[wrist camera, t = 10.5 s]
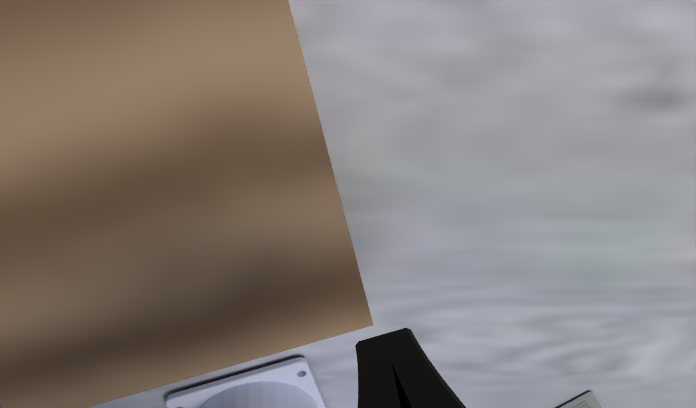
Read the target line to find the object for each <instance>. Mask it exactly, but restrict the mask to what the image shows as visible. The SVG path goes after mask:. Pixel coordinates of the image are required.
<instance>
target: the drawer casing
mask: <svg viewBox="0 0 696 408" xmlns="http://www.w3.org/2000/svg"><path fill="white" fill-rule="evenodd" d="M372 325H373V322H372V318H371V315H370V311H369V307H368V303H367V299H366V296H365V292H364V288H363V284H362V280H361V277H360V273H359V269H358V265H357V261H356V257H355V254H354V250H353V246H352V242H351V238H350V235H349V231H348V227H347V223H346V219H345V216H344V212H343V208H342V204H341V200H340V196H339V193H338V189H337V185H336V181H335V177H334V174H333V170H332V166H331V162H330V158H329V155H328V151H327V147H326V143H325V139H324V135H323V132H322V128H321V124H320V120H319V116H318V113H317V109H316V105H315V101H314V97H313V94H312V90H311V86H310V82H309V78H308V74H307V71H306V67H305V63H304V59H303V55H302V52H301V48H300V44H299V40H298V36H297V33H296V29H295V25H294V21H293V17H292V13H291V10H290V6H289V2H288V0H0V406H1V407H2V408H87V407H90V406H94V405H97V404H101V403H104V402H108V401H111V400H115V399H118V398H122V397H125V396H129V395H132V394H136V393H139V392H143V391H146V390H150V389H153V388H157V387H160V386H163V385H167V384H170V383H174V382H177V381H181V380H184V379H188V378H191V377H195V376H198V375H202V374H205V373H209V372H212V371H216V370H219V369H223V368H226V367H229V366H233V365H236V364H240V363H243V362H247V361H250V360H254V359H257V358H261V357H264V356H268V355H271V354H275V353H278V352H282V351H285V350H289V349H292V348H295V347H299V346H302V345H306V344H309V343H313V342H316V341H320V340H323V339H327V338H330V337H334V336H337V335H341V334H344V333H348V332H351V331H355V330H358V329H361V328H365V327H368V326H372Z"/></svg>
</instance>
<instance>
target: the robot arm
mask: <svg viewBox="0 0 696 408" xmlns="http://www.w3.org/2000/svg"><path fill="white" fill-rule="evenodd" d="M355 347H356V353H357V362H358V408H466V407H465V406H464V405H463V403H462V402H461V401H460V400H459V398H458V397H457V396H456V395H455V393H454V392H453V391H452V390H451V388H450V387H449V386H448V385H447V383H446V382H445V381H444V380H443V378H442V377H441V376H440V374H439V373H438V372H437V370H436V369H435V367H434V366H433V365H432V363H431V362H430V360H429V359H428V357H427V356H426V354H425V353H424V351H423V350H422V348H421V347H420V345H419V343H418V342H417V340H416V338H415V337H414V335H413V333H412V331H411V330H410V329H408V328H404V329H400V330H397V331H393V332H390V333H386V334H383V335H379V336H376V337H372V338H369V339H366V340H362V341H359V342H358V343H357V344H356V345H355ZM166 407H167V408H327V407H326V404H325V402H324V400H323V397H322V395H321V392H320V390H319V388H318V385H317V383H316V380H315V378H314V376H313V373H312V371H311V368H310V366H309V364H308V361H307V360H306V359H305V358H302V357H298V358H294V359H290V360H287V361H283V362H280V363H276V364H273V365H269V366H266V367H262V368H259V369H255V370H252V371H249V372H245V373H242V374H238V375H235V376H231V377H228V378H224V379H221V380H217V381H214V382H210V383H207V384H204V385H200V386H197V387H193V388H190V389H186V390H183V391H179V392H176V393H173V394H170V395H169V396H168V397H167V399H166Z"/></svg>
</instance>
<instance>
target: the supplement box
mask: <svg viewBox="0 0 696 408" xmlns="http://www.w3.org/2000/svg"><path fill="white" fill-rule="evenodd" d="M559 408H604V406H603V405H602V404H601V402H600V401H599V399H598V398H597V397H596V395H595V394H594V393H593V392H588V393H586V394H584V395H582V396H580V397H578V398H577V399H575V400H573V401H571V402H569V403H567V404H565V405H563V406H561V407H559Z"/></svg>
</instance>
